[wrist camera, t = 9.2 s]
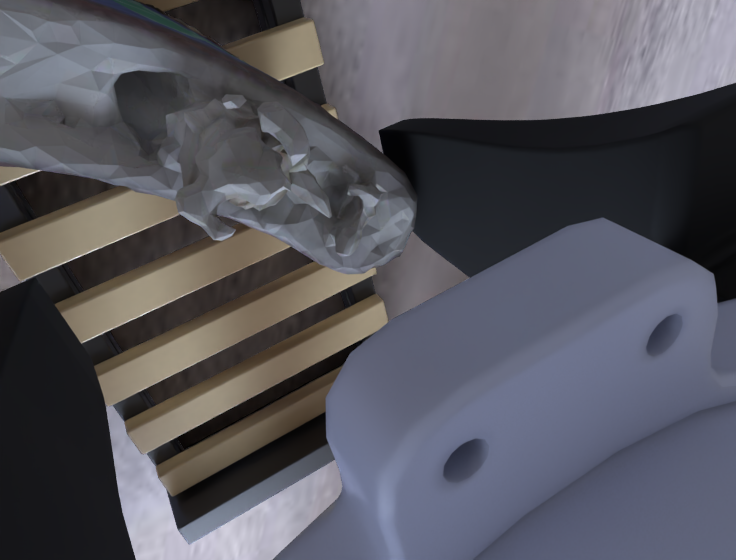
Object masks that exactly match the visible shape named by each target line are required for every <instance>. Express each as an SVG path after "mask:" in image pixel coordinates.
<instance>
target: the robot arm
mask: <svg viewBox="0 0 736 560" xmlns="http://www.w3.org/2000/svg"><path fill="white" fill-rule="evenodd" d="M379 135H380V140H381V144H382V149H383V154H384V155H386V156H387V157H388V158H389V159H390V160H391V161H392V162H393V163H395V164H396V165H397V166H398V167H399V168H400V169H401V170H403V171H404V172H405V174H406V175H407V177H408V179H409V181H410V183H411V185H412V187H413V188H414V190H415V192H416V193H417V212H416V221H415V227H414V229H413V230H412V231H413V232H414V233H415V234H416V235H417V236H418V237H419V238H420V239H421V240H422V241H423V242H424V243H426V244H427V245H428V246H429V247H431V248H432V249H433V250H435V251H436V252H437V253H438V254H440V255H441V256H442V257H443V258H445V259H446V260H447V261H449V262H450V263H451V264H453V265H454V266H455V267H457V268H458V269H459V270H461V271H462V272H463V273H465V274H466V275H467V276H468V277H470V278H469V279H467V280H465V281H463V282H461V283H459V284H457V285H456V286H454V287H452V288H450V289H448V290H446V291H444V292H442V293H441V294H439V295H437V296H435V297H433V298H431V299H429V300H427V301H425V302H424V303H422V304H420V305H418V306H416V307H414V308H412V309H410V310H409V311H407V312H405V313H403V314H401V315H399V316H397V317H395V318H393V319H392V320H390V321H389V322H388V323H387V324H385V325H384V326H383V327H382V328H380V329H379V330H378V331H377V332H376V333H374V334H373V335H372V336H371V337H369V338H368V339H367V340H366V341H364V342H363V343H362V344H361V345H360V346H358V347H357V348H356V349H355V350H353V351H352V352H351V353H350V354H349V356H348V358H347V360H346V361H345V363H344V365H343V367H342V369H341V371H340V372H339V374H338V376H337V378H336V380H335V382H334V383H333V385H332V387H331V389H330V391H329V393H328V394H327V396H326V398H325V399H326V438H327V441H328V443H329V446H330V448H331V451H332V453H333V456H334V458H335V461H336V463H337V466H338V468H339V471H340V476H341V481H342V492H341V494H340V495H339V497H338V499H336V500H335V501H334V502H333V503H332V504H331V505H330V506H329V507H328V508H327V509H326V510H325V511H324V512H323V513H322V514H320V515H319V516H318V517H317V518H316V519H315V520H314V521H313V522H312V523H311V524H310V525H309V526H308V527H307V528H306V529H304V530H303V531H302V532H301V533H300V534H299V535H298V536H297V537H296V538H295V539H294V540H293V541H292V542H291V543H290V544H289V545H287V546H286V547H285V548H284V549H283V550H282V551H281V552H280V553H279V554H278V555H277V556H276V557H275V558H274V559H273V560H736V83H734V84H730V85H727V86H724V87H721V88H717V89H714V90H711V91H707V92H704V93H701V94H697V95H693V96H689V97H685V98H681V99H677V100H672V101H668V102H664V103H660V104H655V105H650V106H646V107H641V108H636V109H630V110H624V111H618V112H612V113H606V114H599V115H591V116H583V117H573V118H561V119H549V120H468V119H441V118H417V119H407V120H402V121H400V122H397V123H395V124H393V125H390V126H388V127H386V128H383V129H381V130H379ZM0 560H136V559H135V555H134V552H133V548H132V545H131V541H130V538H129V534H128V531H127V527H126V524H125V520H124V517H123V513H122V508H121V503H120V498H119V493H118V487H117V480H116V473H115V466H114V459H113V452H112V445H111V439H110V432H109V425H108V419H107V412H106V406H105V400H104V396H103V393H102V389H101V386H100V383H99V380H98V377H97V374H96V371H95V368H94V365H93V362H92V359H91V357H90V355H89V354H88V352H87V351H86V350H85V348H84V347H83V345H82V344H81V342H80V341H79V339H78V338H77V336H76V335H75V334H74V332H73V331H72V329H71V328H70V326H69V325H68V323H67V322H66V320H65V319H64V318H63V316H62V315H61V313H60V312H59V310H58V309H57V307H56V306H55V304H54V303H53V302H52V300H51V299H50V297H49V296H48V294H47V293H46V291H45V290H44V288H43V287H42V286H41V284H40V283H39V281H38V280H37V278H36V277H34V278H32V279H30V280H27V281H25V282H23V283H20V284H18V285H16V286H13V287H11V288H9V289H6V290H4V291H2V292H0Z"/></svg>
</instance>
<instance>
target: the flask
mask: <svg viewBox="0 0 736 560" xmlns="http://www.w3.org/2000/svg"><path fill="white" fill-rule="evenodd" d="M0 166H2V167H20V168H27V169H34V170H41V171H48V172H55V173H62V174H68V175H75V176H81V177H88V178H93V179H96V180H100V181H103V182H106V183H109V184H112V185H118V186H125V187H128V188H129V189H131V190H133V191H135V192H138V193H144V194H150V195H156V196H159V197H163V198H166V199H170V200H173V201H175V202H176V206H177V210H178V213H180V214H181V215H182V216H184V217H185V218H187V219H188V220H189V221H191V222H193V223H195V224H197V225H200V226H201V227H202V228H203V229H204V230H205V231H206V232H207V233H208V235H209V236H210V237H211V238H212V239H213V240H220V241H223V240H225V239H227V238H229V237H231V236H232V235H233V234H234V232H235V231H236V229H234V228H231V227H229V226H227V225H226V224H225V223H223V222H222V221H221V220H219V219H218V218H217V215H219V216H223V217H227V218H230V219H233V220H235V221H237V222H240V223H242V224H244V225H246V226H249V227H251V228H253V229H256V230H258V231H260V232H263V233H266V234H268V235H271V236H273V237H275V238H277V239H279V240H280V241H282V242H284V243H286V244H288V245H289V246H291V247H293V248H294V249H296V250H298V251H299V252H301V253H302V254H304V255H306V256H307V257H309V258H310V259H312V260H313V261H315V262H317V263H318V264H320V265H323V266H326V267H328V268H330V269H332V270H334V271H337V272H340V273H343V274H364V273H366V272H367V271H368V270H370V269H372V268H375V267H379V266H382V265H385V264H386V263H388V262H389V261H391V260H392V259H394V258H396V257H399V256H400V255H401V253H402V252H403V250H404V248H405V245H406V243H407V241H408V238H409V236H410V234H411V232H412V230H413V229H414V227H415V221H416V212H417V193H416V192H415V190H414V188H413V187H412V185H411V183H410V181H409V179H408V177H407V175H406V174H405V172H404V171H403V170H401V169H400V168H399V167H398V166H397V165H396V164H395V163H393V162H392V161H391V160H390V159H389V158H388V157H387V156H386V155H384V154H383V153H382V152H380V151H379V150H378V149H377V148H375V147H374V146H373V145H372V144H370V143H369V142H368V141H367V140H365V139H364V138H363V137H361V136H360V135H359V134H357V133H356V132H355V131H353V130H352V129H350V128H349V127H348V126H346V125H345V124H344V123H342V122H341V121H339V120H338V119H336V118H335V117H333V116H332V115H331V114H330V113H328V112H327V111H326V110H325V109H324V108H323V107H322V106H321V105H320V104H317V103H314V102H313V101H311V100H310V99H308V98H307V97H306V96H304V95H303V94H301V93H299V92H298V91H296V90H294V89H292V88H291V87H289V86H287V85H286V84H284V83H282V82H280V81H279V80H277V79H275V78H273V77H271V76H270V75H268V74H266V73H264V72H262V71H260V70H259V69H257V68H255V67H253V66H251V65H249V64H247V63H246V62H245V61H244V60H240V59H239V57H237V56H235V55H233V54H232V53H230V52H228V51H227V50H226V49H224V48H223V47H222V46H221V45H220V44H218V42H217V41H216V40H214V39H213V38H211V37H204V35H203V34H201V33H200V32H199V31H198V30H197V29H196V28H195V27H190V26H188V24H187V23H185V22H183V21H182V20H181V19H175V18H173V17H171V16H169V15H167V14H165V13H164V12H163V11H162V10H160V9H159V8H155V7H154V6H153V5H150V4H144V3H142V2H138V1H135V0H0Z"/></svg>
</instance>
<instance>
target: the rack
mask: <svg viewBox="0 0 736 560" xmlns="http://www.w3.org/2000/svg"><path fill="white" fill-rule="evenodd" d="M135 1H138V2H142V3H144V4H150V5H153V6H154V7H155V8H159V9H160V10H162V11H163V12H166V11H169V10H172V9H175V8H178V7H181V6H184V5H187V4H191V3H194V2H197V1H200V0H135ZM253 3H254V7H255V10H256V13H257V17H258V20H259V23H260V27H261V30H262V32H260V33H257V34H254V35H251V36H248V37H245V38H242V39H240V40H237V41H234V42H231V43H228V44H225V45H222V47H223V48H224V49H226V50H227V51H228V52H230V53H232V54H233V55H235V56H237V57H239V59H240V60H244V61H245V62H246V63H247V64H249V65H251V66H253V67H255V68H257V69H259V70H260V71H262V72H264V73H266V74H268V75H270V76H271V77H273V78H275V79H277V80H279V81H280V82H282V83H284V84H286V85H287V86H289V87H291V88H292V89H294V90H296V91H298V92H299V93H301V94H303V95H304V96H306V97H307V98H308V99H310V100H311V101H313V102H314V103H317V104H320V105H321V106H322V107H323V108H324V109H325V110H326V111H327V112H328V113H330V114H331V115H332V116H333V117H335V118H336V119H338V116H337V112H336V108H335V107H333V106H332V105H330V104H328V103H326V99H325V95H324V91H323V87H322V83H321V79H320V75H319V71H318V68H317V67H318V66H321V65H323V64H324V60H323V56H322V52H321V48H320V44H319V40H318V36H317V32H316V28H315V24H314V21H313V19H310V18H306V17H304V13H303V9H302V5H301V1H300V0H253ZM39 171H41V170H34V169H27V168H20V167H2V166H0V255H1V256H2V257H3V259H4V260H5V262H6V263H7V265H8V266H9V267H10V269H11V270H12V272H13V273H14V274H15V276H16V277H17V279H18V280H19V281H24V280H26V281H27V280H30V279H32V278H34V277H36V278H37V280H38V281H39V283H40V284H41V286H42V287H43V288H44V290H45V291H46V293H47V294H48V296H49V297H50V299H51V300H52V302H53V303H54V304H55V306H56V307H57V309H58V310H59V312H60V313H61V315H62V316H63V318H64V319H65V320H66V322H67V323H68V325H69V326H70V328H71V329H72V331H73V332H74V334H75V335H76V336H77V338H78V339H79V341H80V342H81V344H82V345H83V347H84V348H85V350H86V351H87V352H88V354H89V355H90V357H91V359H92V362H93V365H94V368H95V371H96V374H97V377H98V380H99V383H100V386H101V389H102V393H103V396H104V400H105V404H106V405H107V406H108V407H110V406H112V405H113V406H114V408H115V409H116V411H117V412H118V413H119V415H120V416H121V418H122V419H123V421H124V424H125V428H126V432H127V434H128V436H129V437H130V438H131V440H132V441H133V443H134V444H135V446H136V447H137V448H138V450H139V451H140V453H141V454H143V455H144V454H146V453H147V455H148V456H149V458H150V459H151V461H152V462H153V464H154V465H155V466H156V471H157V475H158V478H159V479H160V481H161V482H162V484H163V485H164V487H165V488H166V490H167V494H168V497H169V501H170V504H171V508H172V511H173V515H174V518H175V522H176V525H177V529H178V530H179V532H180V533H181V534H182V536H183V537H184V539H185V540H186V541H187V543H188V544H192V543H193V542H195V541H197V540H198V539H200V538H202V537H204V536H205V535H207V534H209V533H210V532H212V531H214V530H215V529H217V528H219V527H221V526H222V525H224V524H226V523H227V522H229V521H231V520H233V519H234V518H236V517H238V516H239V515H241V514H243V513H245V512H246V511H248V510H250V509H251V508H253V507H255V506H257V505H258V504H260V503H262V502H263V501H265V500H267V499H268V498H270V497H272V496H274V495H275V494H277V493H279V492H280V491H282V490H284V489H286V488H287V487H289V486H291V485H292V484H294V483H296V482H298V481H299V480H301V479H303V478H304V477H306V476H308V475H310V474H311V473H313V472H315V471H316V470H318V469H320V468H321V467H323V466H325V465H327V464H328V463H330V462H332V461H333V460H335V458H334V456H333V453H332V451H331V448H330V446H329V443H328V441H327V438H326V399H325V398H326V396H327V394H328V393H329V391H330V389H331V387H332V385H333V383H334V382H335V380H336V378H337V376H338V374H339V372H340V371H341V369H342V367H343V365H344V364H343V365H341V366H339V367H337V368H335V369H333V370H331V371H330V372H328V373H326V374H324V375H322V376H320V377H318V378H317V379H315V380H313V381H311V382H309V383H307V384H305V385H304V386H302V387H300V388H298V389H296V390H294V391H292V392H291V393H289V394H287V395H285V396H283V397H281V398H279V399H278V400H276V401H274V402H272V403H270V404H268V405H266V406H265V407H263V408H261V409H259V410H257V411H255V412H253V413H251V414H250V415H248V416H246V417H244V418H242V419H240V420H238V421H237V422H235V423H233V424H231V425H229V426H227V427H225V428H224V429H222V430H220V431H218V432H216V433H214V434H212V435H211V436H209V437H207V438H205V439H203V440H201V441H199V442H198V443H196V444H194V445H192V446H190V447H188V448H186V449H184V448H183V447H182V445H181V444H180V442H179V440H178V439H177V437H178V436H180V435H182V434H184V433H186V432H188V431H189V430H191V429H193V428H195V427H197V426H199V425H201V424H203V423H205V422H206V421H208V420H210V419H212V418H214V417H216V416H218V415H220V414H222V413H223V412H225V411H227V410H229V409H231V408H233V407H235V406H237V405H239V404H240V403H242V402H244V401H246V400H248V399H250V398H252V397H254V396H256V395H257V394H259V393H261V392H263V391H265V390H267V389H269V388H271V387H273V386H274V385H276V384H278V383H280V382H282V381H284V380H286V379H288V378H290V377H291V376H293V375H295V374H297V373H299V372H301V371H303V370H305V369H307V368H308V367H310V366H312V365H314V364H316V363H318V362H320V361H322V360H324V359H325V358H327V357H329V356H331V355H333V354H335V353H337V352H339V351H341V350H342V349H344V348H346V347H348V346H350V345H352V344H354V343H356V345H357V347H358V346H360V345H361V344H362V343H363V342H364V341H366V340H367V339H368V338H369V337H371V336H372V335H373V334H374V333H376V332H377V331H378V330H379V329H380V328H382V327H383V326H384V325H385V324H387V323H388V322H389V321H388V317H387V313H386V309H385V305H384V301H383V300H382V299H381V298H380V297H379V296H378V295H377V294H376V293H375V289H374V285H373V282H372V278H371V276H372V275H374V274H376V273H377V272H376V267H375V268H372V269H370V270H368V271H367V272H366V273H364V274H343V273H340V272H337V271H334V270H332V269H330V268H328V267H326V266H323V265H320V264H318V263H317V262H315V261H314V262H312V263H309V264H307V265H305V266H303V267H301V268H299V269H297V270H295V271H293V272H291V273H288V274H286V275H284V276H282V277H280V278H278V279H276V280H274V281H272V282H270V283H267V284H265V285H263V286H261V287H259V288H257V289H255V290H253V291H251V292H249V293H246V294H244V295H242V296H240V297H238V298H236V299H234V300H232V301H230V302H228V303H225V304H223V305H221V306H219V307H217V308H215V309H213V310H211V311H209V312H207V313H204V314H202V315H200V316H198V317H196V318H194V319H192V320H190V321H188V322H186V323H183V324H181V325H179V326H177V327H175V328H173V329H171V330H169V331H167V332H165V333H162V334H160V335H158V336H156V337H154V338H152V339H150V340H148V341H146V342H144V343H141V344H139V345H137V346H135V347H133V348H131V349H129V350H127V351H125V352H122V350H121V349H120V347H119V346H118V344H117V342H116V341H115V339H114V338H113V336H112V335H111V333H110V330H112V329H114V328H116V327H118V326H120V325H123V324H125V323H127V322H129V321H131V320H133V319H136V318H138V317H140V316H142V315H144V314H146V313H148V312H151V311H153V310H155V309H157V308H159V307H161V306H164V305H166V304H168V303H170V302H172V301H174V300H177V299H179V298H181V297H183V296H185V295H187V294H190V293H192V292H194V291H196V290H198V289H200V288H202V287H205V286H207V285H209V284H211V283H213V282H215V281H218V280H220V279H222V278H224V277H226V276H228V275H231V274H233V273H235V272H237V271H239V270H241V269H244V268H246V267H248V266H250V265H252V264H254V263H256V262H259V261H261V260H263V259H265V258H267V257H269V256H272V255H274V254H276V253H278V252H280V251H282V250H285V249H287V248H289V247H291V246H289V245H288V244H286V243H284V242H282V241H280V240H279V239H277V238H275V237H273V236H271V235H268V234H266V233H263V232H260V231H258V230H256V229H253V228H251V227H249V226H246V225H244V224H242V223H238V224H236V225H234V226H231V228H234V229H236V231H235V232H234V234H233V235H232V236H231V237H229V238H227V239H225V240H223V241H220V240H213V239H212V238H211V237H210V236H209V237H206V238H204V239H202V240H199V241H197V242H195V243H193V244H190V245H188V246H186V247H184V248H181V249H179V250H177V251H174V252H172V253H170V254H168V255H165V256H163V257H161V258H158V259H156V260H154V261H152V262H149V263H147V264H145V265H143V266H140V267H138V268H136V269H133V270H131V271H129V272H127V273H124V274H122V275H120V276H117V277H115V278H113V279H111V280H108V281H106V282H104V283H102V284H99V285H97V286H95V287H92V288H90V289H88V290H86V291H84V290H83V289H82V287H81V286H80V284H79V282H78V281H77V279H76V278H75V276H74V274H73V273H72V271H71V270H70V268H69V267H68V265H67V263H66V262H69V261H71V260H73V259H76V258H78V257H81V256H83V255H85V254H88V253H90V252H92V251H95V250H97V249H100V248H102V247H104V246H107V245H109V244H111V243H114V242H116V241H118V240H121V239H123V238H126V237H128V236H130V235H133V234H135V233H137V232H140V231H142V230H144V229H147V228H149V227H152V226H154V225H156V224H159V223H161V222H163V221H166V220H168V219H170V218H173V217H175V216H178V215H180V213H178V210H177V206H176V202H175V201H173V200H170V199H166V198H163V197H159V196H156V195H150V194H144V193H138V192H135V191H133V190H131V189H129V188H128V187H125V186H117V187H114V188H112V189H109V190H107V191H104V192H102V193H99V194H97V195H94V196H92V197H89V198H87V199H84V200H82V201H79V202H77V203H74V204H72V205H69V206H67V207H64V208H61V209H59V210H56V211H54V212H51V213H49V214H46V215H44V216H41V217H39V218H37V216H36V214H35V213H34V211H33V210H32V208H31V206H30V205H29V203H28V202H27V200H26V199H25V197H24V195H23V194H22V192H21V191H20V189H19V187H18V186H17V184H16V183H15V180H18V179H20V178H23V177H26V176H28V175H31V174H34V173H36V172H39ZM338 292H341V295H342V298H343V302H344V305H345V308H346V309H344V310H342V311H340V312H338V313H336V314H334V315H332V316H330V317H328V318H326V319H325V320H323V321H321V322H319V323H317V324H315V325H313V326H311V327H309V328H307V329H305V330H303V331H301V332H299V333H297V334H295V335H293V336H291V337H289V338H287V339H285V340H283V341H281V342H279V343H277V344H275V345H273V346H271V347H270V348H268V349H266V350H264V351H262V352H260V353H258V354H256V355H254V356H252V357H250V358H248V359H246V360H244V361H242V362H240V363H238V364H236V365H234V366H232V367H230V368H228V369H226V370H224V371H222V372H220V373H218V374H216V375H214V376H213V377H211V378H209V379H207V380H205V381H203V382H201V383H199V384H197V385H195V386H193V387H191V388H189V389H187V390H185V391H183V392H181V393H179V394H177V395H175V396H173V397H171V398H169V399H167V400H165V401H163V402H161V403H159V404H157V405H156V404H155V403H154V401H153V399H152V398H151V396H150V395H149V393H148V391H147V390H146V388H148V387H150V386H152V385H154V384H156V383H158V382H160V381H162V380H164V379H166V378H168V377H170V376H172V375H174V374H176V373H178V372H180V371H182V370H184V369H186V368H188V367H190V366H192V365H194V364H196V363H198V362H200V361H202V360H204V359H206V358H208V357H210V356H212V355H214V354H216V353H218V352H220V351H222V350H224V349H226V348H228V347H230V346H232V345H234V344H236V343H238V342H240V341H242V340H244V339H246V338H248V337H250V336H252V335H254V334H256V333H258V332H260V331H262V330H264V329H266V328H268V327H270V326H272V325H274V324H276V323H278V322H280V321H282V320H284V319H286V318H288V317H290V316H292V315H294V314H296V313H298V312H300V311H302V310H304V309H306V308H308V307H310V306H312V305H314V304H316V303H318V302H320V301H322V300H324V299H326V298H328V297H330V296H332V295H334V294H336V293H338Z"/></svg>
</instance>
